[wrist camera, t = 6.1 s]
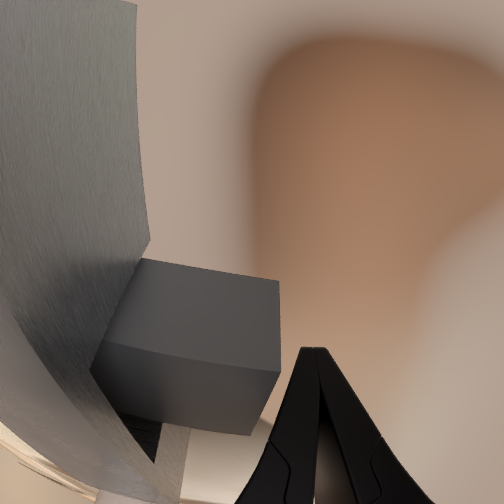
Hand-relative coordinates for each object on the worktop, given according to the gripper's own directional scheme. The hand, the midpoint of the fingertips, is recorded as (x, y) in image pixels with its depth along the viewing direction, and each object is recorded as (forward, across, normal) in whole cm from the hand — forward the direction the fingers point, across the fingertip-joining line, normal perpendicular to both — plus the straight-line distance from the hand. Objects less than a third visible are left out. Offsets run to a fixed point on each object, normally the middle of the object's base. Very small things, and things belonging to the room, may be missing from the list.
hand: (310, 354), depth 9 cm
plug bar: (+1, +8, -1) cm, 8 cm away
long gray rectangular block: (+1, +7, 0) cm, 7 cm away
